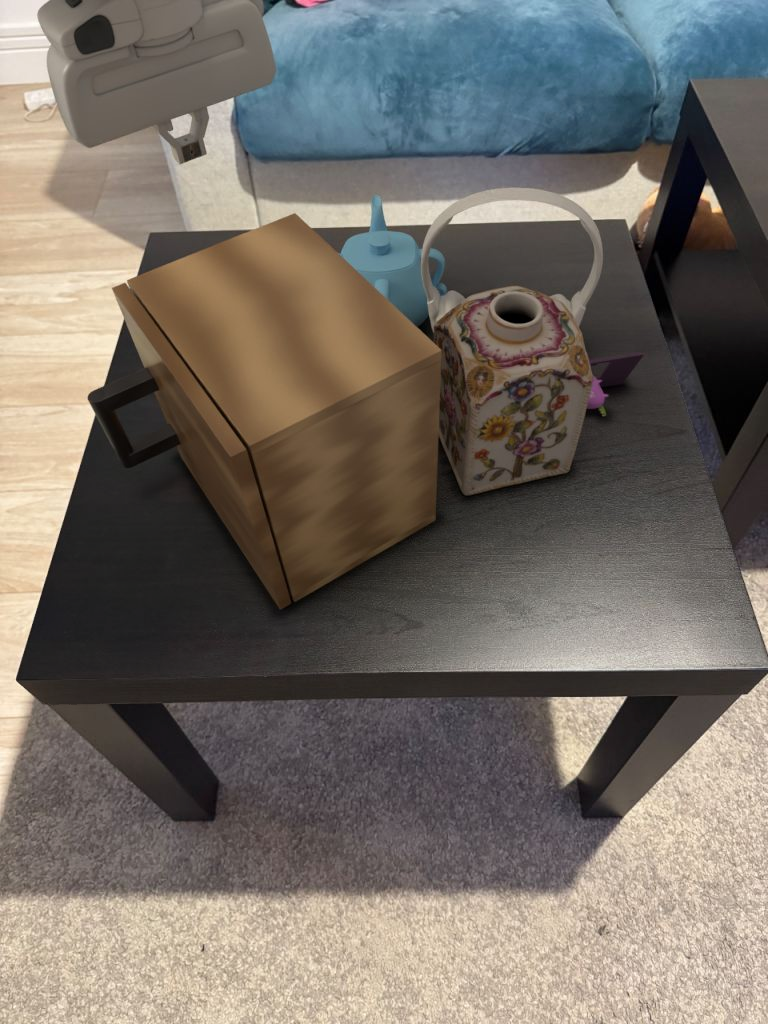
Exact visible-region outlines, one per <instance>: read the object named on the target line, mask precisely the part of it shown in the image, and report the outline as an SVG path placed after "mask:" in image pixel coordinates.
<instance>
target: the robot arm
mask: <svg viewBox="0 0 768 1024" xmlns="http://www.w3.org/2000/svg"><path fill="white" fill-rule="evenodd" d="M264 12H265V5H264V0H48V1H46V2H45V3H43V5H42V6H41V7H39V8H38V10H37V14H36V17H37V21H38V23H39V26H40V28H41V30H42V32H43V34H44V36H45V37H46V39H47V41H48V42H49V43H50V45H49V47H48V49H47V53H46V69H47V74H48V78H49V82H50V87H51V90H52V93H53V94H52V95H53V98H54V100H55V103H56V106H57V110H58V112H59V115H60V118H61V121H62V122H63V125H64V127H65V129H66V130H67V132H68V134H69V135H70V136H71V138H72V139H73V141H75V142H76V143H78V144H80V145H81V146H82V147H85V148H87V149H92V148H95V147H97V146H100V145H104V144H106V143H109V142H112V141H114V140H118V139H120V138H123V137H126V136H128V135H131V134H134V133H137V132H139V131H143V130H145V129H148V128H151V127H152V128H153V129H154V130H155V131H156V132H157V133H158V134H159V135H160V137H161V138H162V139H164V140H165V141H166V142H167V143H168V144H169V147H170V151H171V153H172V154H171V155H172V156H173V158H174V160H175V161H176V162H177V164H178V165H183V164H185V163H188V162H191V161H192V160H196V159H198V158H201V157H203V156H206V155H207V154H208V152H207V149H206V145H205V141H204V138H205V136H206V132H207V128H208V124H209V120H210V114H209V111H208V107H211V106H214V105H216V104H220V103H222V102H226V101H228V100H230V99H234V98H236V97H240V96H243V95H245V94H248V93H251V92H253V91H256V90H259V89H263V88H265V87H268V86H270V85H272V83H273V81H274V78H275V76H276V73H277V65H276V59H275V55H274V52H273V47H272V44H271V40H270V36H269V34H268V30H267V28H266V24H265V22H264V19H263V17H264ZM185 115H189V116H191V120H190V126H189V132H188V133H186V134H183V135H181V136H178V137H174V136H173V135H172V134H171V133H170V132H172V131H174V126H173V121H172V120H174V119H177V118H180V117H183V116H185Z"/></svg>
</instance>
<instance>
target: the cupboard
mask: <svg viewBox="0 0 768 1024" xmlns="http://www.w3.org/2000/svg"><path fill="white" fill-rule="evenodd" d="M338 253H339V252H338V251H337V250H336V249H334V247H332V246H331V245H330V244H329V243H328V242H327V241H326V240H325V239H323V238H322V237H321V236H320V234H319V233H317V232H316V231H315V230H314V229H313V228H312V227H311V226H310V225H309V224H307V222H305V221H304V220H303V219H302V218H301V217H300V216H299V215H298V214H297V213H296V212H294V213H291V214H288V215H287V216H284V217H282V218H279V219H277V220H274V221H272V222H268V223H266V224H264V225H262V226H259V227H257V228H254V229H251V230H249V231H246V232H244V233H241V234H239V235H237V236H234V237H231V238H228V239H226V240H224V241H221V242H219V243H216V244H214V245H212V246H208V247H206V248H204V249H201V250H198V251H196V252H194V253H191V254H189V255H186V256H184V257H182V258H179V259H176V260H173V261H171V262H169V263H166V264H164V265H161V266H159V267H156V268H154V269H152V270H148V271H147V272H144V273H142V274H139V275H135V276H134V277H132V278H129V279H127V280H126V284H127V286H128V287H129V288H130V290H131V291H132V293H133V294H134V295H135V297H136V298H137V299H138V301H139V302H140V304H141V305H142V306H143V308H144V309H145V310H146V312H147V313H148V315H149V316H150V317H151V319H152V320H153V321H154V323H155V324H156V326H157V327H158V328H159V330H160V331H161V332H162V334H163V335H164V337H165V338H166V339H167V341H168V342H169V343H170V345H171V346H172V348H173V349H174V350H175V352H176V353H177V354H178V356H179V357H180V359H181V360H182V361H183V363H184V364H185V365H186V367H187V368H188V370H189V371H190V372H191V374H192V375H193V376H194V378H195V379H196V380H197V382H198V383H199V385H200V386H201V387H202V389H203V390H204V391H205V393H206V394H207V396H208V397H209V398H210V400H211V401H212V402H213V404H214V405H215V407H216V408H217V409H218V411H219V412H220V413H221V415H222V416H223V418H224V419H225V420H226V422H227V423H228V424H229V426H230V427H231V429H232V430H233V431H234V433H235V434H236V435H237V437H238V438H239V440H240V441H241V442H242V444H243V445H244V446H245V448H246V449H247V453H248V456H249V460H250V463H251V466H252V470H253V473H254V477H255V480H256V483H257V487H258V490H259V494H260V497H261V501H262V504H263V507H264V511H265V514H266V518H267V521H268V524H269V528H270V531H271V535H272V538H273V542H274V545H275V548H276V552H277V555H278V559H279V562H280V566H281V569H282V572H283V576H284V579H285V583H286V586H287V589H288V593H289V596H290V599H291V601H292V602H293V603H296V602H297V601H299V600H301V599H303V598H305V597H306V596H308V595H309V594H310V595H311V593H313V592H315V591H316V590H318V589H320V588H322V587H324V586H325V585H327V584H329V583H331V582H332V581H334V580H335V579H338V578H340V577H341V576H342V575H344V574H346V573H347V572H349V571H351V570H353V569H354V568H357V566H359V565H362V564H363V563H365V562H367V561H368V560H371V558H374V557H375V556H377V555H378V554H380V553H382V552H384V551H385V550H387V549H388V548H391V547H392V546H394V545H396V544H398V543H399V542H401V541H403V540H404V539H406V538H409V536H411V535H413V534H415V533H417V532H418V531H420V530H422V529H424V528H425V527H427V526H429V525H430V524H432V523H433V522H435V521H436V519H437V493H438V492H437V490H438V486H437V485H438V465H439V464H438V463H439V462H438V461H439V460H438V459H439V409H440V381H441V355H442V350H441V349H440V348H439V347H438V346H437V345H435V344H434V343H433V340H431V339H430V337H428V336H427V335H426V334H425V333H424V332H423V331H422V330H421V329H420V328H419V327H416V326H415V325H414V324H413V323H412V322H411V321H410V320H409V319H408V318H407V317H406V316H405V315H403V314H402V313H401V312H400V311H399V310H398V309H397V308H396V307H395V306H394V305H393V304H392V303H391V302H390V301H389V300H387V299H386V298H385V297H384V296H383V295H382V294H381V293H380V292H379V291H378V290H377V289H376V288H375V287H374V286H373V285H371V284H370V283H369V282H368V281H367V280H366V279H365V278H364V277H363V276H362V275H361V274H360V273H359V272H358V271H357V270H355V269H354V268H353V267H352V266H351V265H350V264H349V263H348V262H347V261H346V260H345V259H344V258H343V257H342V256H340V255H339V254H338Z"/></svg>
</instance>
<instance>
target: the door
mask: <svg viewBox="0 0 768 1024" xmlns="http://www.w3.org/2000/svg"><path fill="white" fill-rule="evenodd" d="M111 290H112V293H113V295H114V297H115V300H116V302H117V305H118V307H119V310H120V312H121V315H122V317H123V319H124V322H125V324H126V327H127V329H128V332H129V334H130V337H131V339H132V341H133V343H134V346H135V349H136V351H137V354H138V356H139V358H140V360H141V363H142V365H143V368H141V369H139V370H137V371H135V372H133V373H130V374H127V375H125V376H124V377H121V378H119V379H117V380H115V381H112V382H110V383H107V384H105V385H103V386H101V387H98V388H96V389H94V390H92V391H90V392H89V393H88V395H87V401H88V403H89V405H90V407H91V409H92V410H93V413H94V415H95V417H96V418H97V420H98V422H99V425H101V426H100V427H101V428H102V430H103V432H104V434H105V436H106V438H107V439H108V441H109V444H110V445H111V447H112V449H113V451H114V453H115V455H116V457H117V459H118V461H119V462H120V464H121V466H122V467H123V468H126V469H131V468H134V467H136V466H138V465H140V464H142V463H144V462H146V461H148V460H151V459H152V458H154V457H156V456H159V455H161V454H163V453H165V452H168V451H169V450H172V449H173V448H175V447H176V448H177V451H178V454H179V456H180V458H181V460H182V461H183V463H184V464H185V466H186V467H187V469H188V470H189V472H190V474H191V475H192V477H193V478H194V480H195V482H196V483H197V485H198V486H199V488H200V489H201V491H202V492H203V493H204V495H205V496H206V498H207V500H208V501H209V503H210V504H211V506H212V507H213V509H214V510H215V512H216V513H217V515H218V517H219V518H220V520H221V521H222V523H223V524H224V526H225V527H226V529H227V530H228V532H229V533H230V535H231V536H232V538H233V540H234V541H235V543H236V544H237V546H238V547H239V549H240V551H241V552H242V553H243V555H244V556H245V558H246V560H247V562H248V563H249V565H250V566H251V568H252V570H253V571H254V572H255V573H256V575H257V576H258V578H259V580H260V581H261V583H262V584H263V585H264V587H265V589H266V590H267V592H268V594H269V595H270V596H271V598H272V600H273V601H274V602H275V605H276V606H277V607H278V609H279V610H283V609H284V608H286V607H288V606H290V605H291V604H292V599H291V597H290V595H289V593H288V589H287V586H286V583H285V579H284V576H283V572H282V569H281V566H280V562H279V559H278V555H277V552H276V548H275V545H274V542H273V538H272V535H271V531H270V528H269V524H268V521H267V518H266V514H265V511H264V507H263V504H262V501H261V497H260V494H259V490H258V487H257V483H256V480H255V477H254V473H253V470H252V466H251V463H250V460H249V456H248V453H247V449H246V448H245V446H244V445H243V444H242V442H241V441H240V440H239V438H238V437H237V435H236V434H235V433H234V431H233V430H232V429H231V427H230V426H229V424H228V423H227V422H226V420H225V419H224V418H223V416H222V415H221V413H220V412H219V411H218V409H217V408H216V407H215V405H214V404H213V402H212V401H211V400H210V398H209V397H208V396H207V394H206V393H205V391H204V390H203V389H202V387H201V386H200V385H199V383H198V382H197V380H196V379H195V378H194V376H193V375H192V374H191V372H190V371H189V370H188V368H187V367H186V365H185V364H184V363H183V361H182V360H181V359H180V357H179V356H178V354H177V353H176V352H175V350H174V349H173V348H172V346H171V345H170V343H169V342H168V341H167V339H166V338H165V337H164V335H163V334H162V332H161V331H160V330H159V328H158V327H157V326H156V324H155V323H154V321H153V320H152V319H151V317H150V316H149V315H148V313H147V312H146V310H145V309H144V308H143V306H142V305H141V304H140V302H139V301H138V299H137V298H136V297H135V295H134V294H133V293H132V291H131V290H130V288H129V285H128V283H127V282H123V283H121V284H118V285H115V286H113V287H111ZM153 393H154V395H155V397H156V400H157V402H158V405H159V407H160V409H161V412H162V414H163V417H164V419H165V422H166V425H164V426H162V427H159V428H157V429H155V430H153V431H151V432H149V433H147V434H144V435H142V436H140V437H137V438H136V439H134V440H131V441H130V439H129V437H128V436H127V433H126V432H125V430H124V427H123V425H122V423H121V420H120V419H119V417H118V415H117V413H116V410H118V409H120V408H122V407H125V406H126V405H129V404H131V403H133V402H136V401H138V400H140V399H142V398H145V397H146V396H149V395H151V394H153Z"/></svg>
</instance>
